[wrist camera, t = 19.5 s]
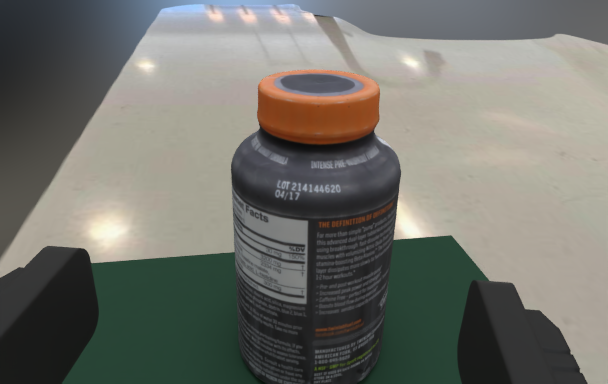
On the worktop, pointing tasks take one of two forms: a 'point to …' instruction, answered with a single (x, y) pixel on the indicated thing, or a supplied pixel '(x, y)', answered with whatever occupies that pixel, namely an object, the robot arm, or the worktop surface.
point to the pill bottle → (313, 229)
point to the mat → (224, 320)
